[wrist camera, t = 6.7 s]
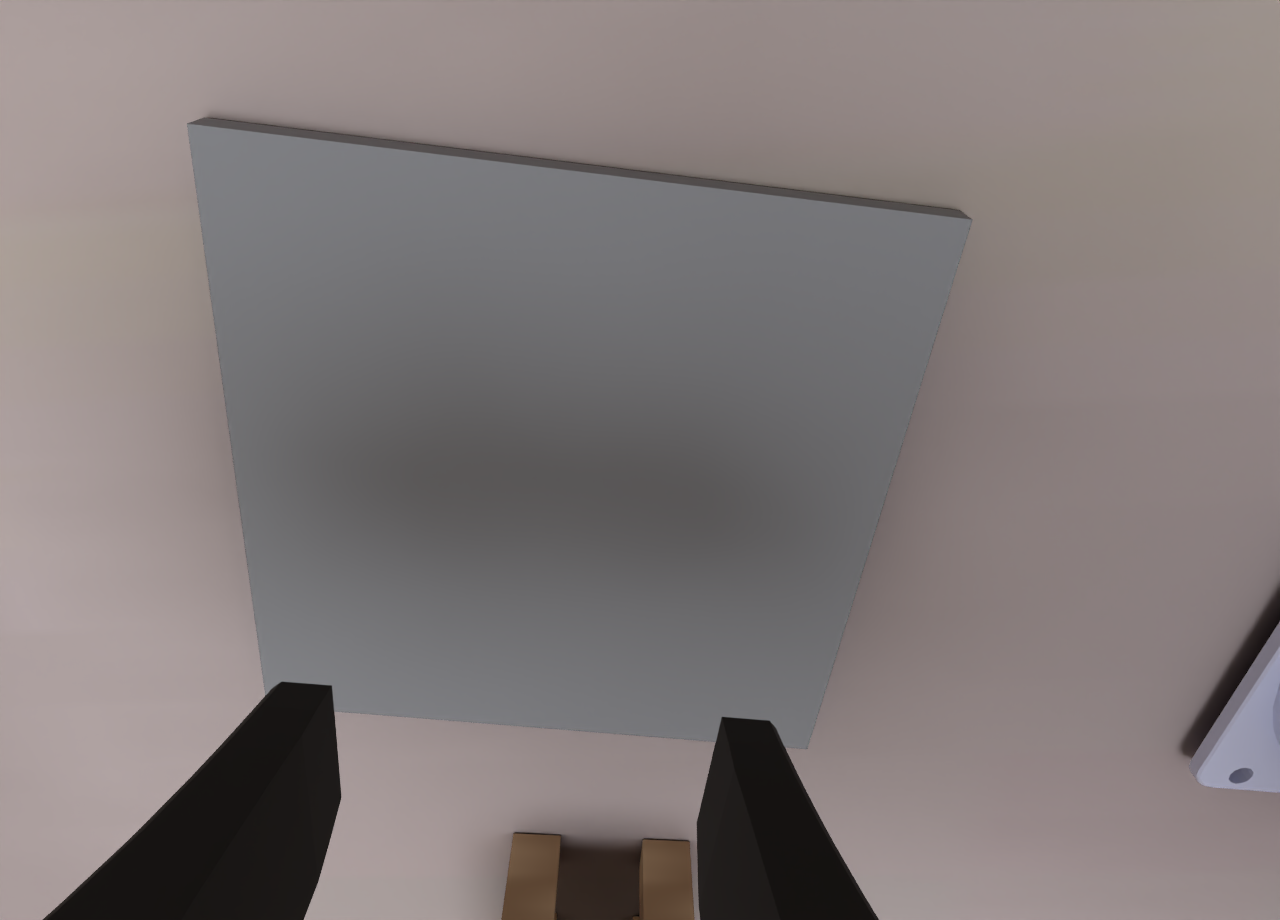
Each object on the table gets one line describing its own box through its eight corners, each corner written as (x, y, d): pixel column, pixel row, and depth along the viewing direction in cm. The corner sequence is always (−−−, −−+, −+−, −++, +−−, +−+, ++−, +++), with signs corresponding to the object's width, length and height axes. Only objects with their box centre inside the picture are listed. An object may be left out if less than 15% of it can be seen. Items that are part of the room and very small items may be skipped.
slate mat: (960, 210, 14) (972, 219, 13) (802, 728, 20) (807, 749, 19) (204, 117, 13) (186, 123, 13) (276, 686, 19) (266, 706, 19)
